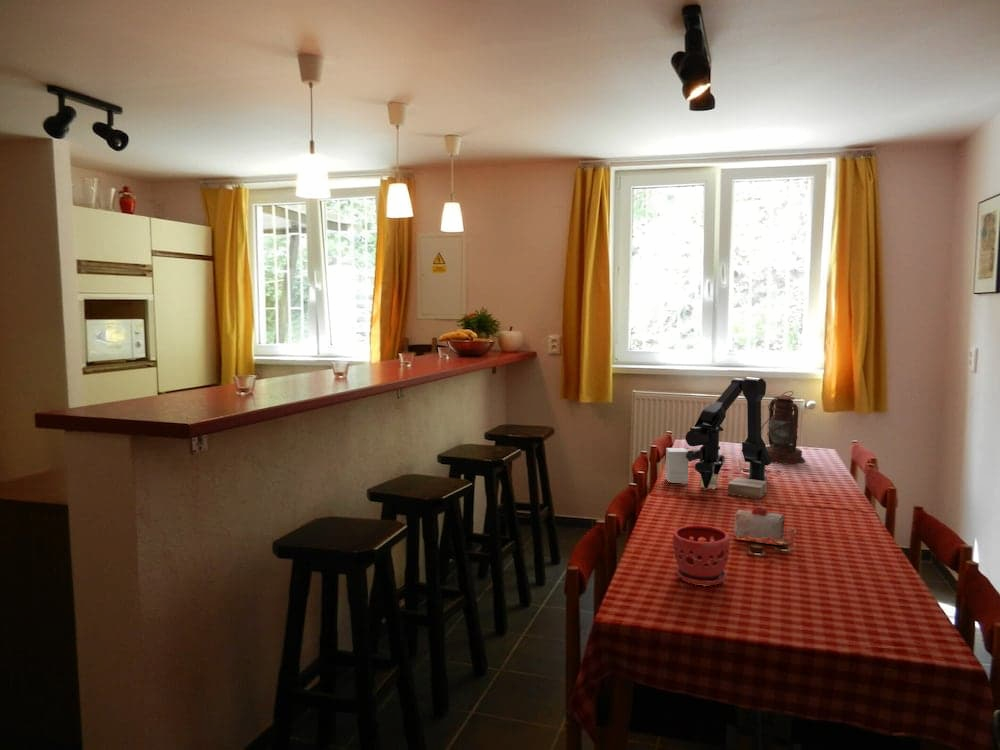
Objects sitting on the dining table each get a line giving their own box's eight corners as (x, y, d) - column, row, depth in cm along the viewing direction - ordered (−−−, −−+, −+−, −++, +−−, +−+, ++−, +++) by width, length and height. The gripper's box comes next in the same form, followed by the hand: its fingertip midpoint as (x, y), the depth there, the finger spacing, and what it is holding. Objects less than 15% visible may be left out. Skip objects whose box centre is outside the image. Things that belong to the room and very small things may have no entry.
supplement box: (684, 480, 266) (685, 447, 264) (687, 484, 258) (688, 451, 257) (665, 479, 266) (665, 447, 265) (667, 484, 259) (668, 451, 258)
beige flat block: (735, 487, 254) (735, 477, 254) (766, 492, 248) (766, 481, 248) (727, 494, 245) (728, 483, 244) (760, 499, 239) (760, 487, 239)
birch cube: (704, 485, 257) (704, 472, 257) (717, 487, 255) (718, 474, 254) (700, 488, 253) (700, 475, 252) (714, 490, 250) (714, 477, 250)
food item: (731, 541, 196) (733, 507, 195) (735, 533, 203) (736, 500, 202) (783, 549, 190) (784, 514, 189) (785, 540, 198) (786, 506, 197)
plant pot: (685, 565, 177) (687, 520, 176) (736, 578, 169) (737, 531, 168) (662, 581, 167) (664, 533, 166) (715, 595, 159) (717, 545, 158)
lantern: (749, 456, 308) (752, 389, 306) (784, 453, 314) (787, 388, 311) (778, 465, 290) (781, 395, 288) (814, 462, 296) (818, 393, 293)
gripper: (696, 437, 264) (694, 477, 266) (681, 445, 248) (680, 487, 250) (725, 440, 258) (724, 481, 260) (712, 449, 243) (711, 492, 244)
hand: (709, 485), depth 254 cm, fingers open, 9 cm apart
